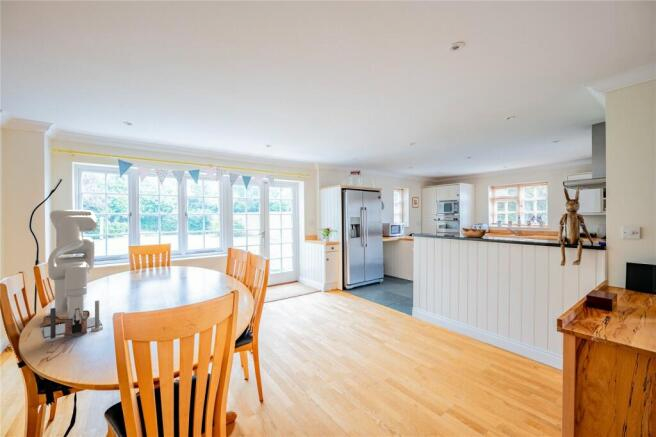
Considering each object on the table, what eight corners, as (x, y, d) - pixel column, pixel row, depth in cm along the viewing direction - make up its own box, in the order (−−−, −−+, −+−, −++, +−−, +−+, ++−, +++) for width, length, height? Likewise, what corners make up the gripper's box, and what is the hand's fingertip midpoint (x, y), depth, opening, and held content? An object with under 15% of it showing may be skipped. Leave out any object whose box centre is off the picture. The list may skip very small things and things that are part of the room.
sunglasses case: (38, 328, 131) (40, 314, 134) (41, 331, 136) (43, 317, 139) (87, 320, 142) (88, 307, 145) (89, 323, 147) (90, 311, 150)
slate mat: (43, 329, 131) (43, 327, 131) (97, 317, 146) (97, 316, 146) (44, 338, 121) (44, 336, 121) (102, 325, 136) (102, 323, 136)
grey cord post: (90, 329, 131) (90, 300, 130) (102, 326, 134) (102, 298, 134) (91, 332, 128) (91, 303, 128) (103, 329, 131) (103, 300, 131)
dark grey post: (45, 340, 120) (45, 308, 119) (59, 336, 123) (59, 306, 123) (46, 343, 117) (46, 311, 117) (60, 339, 120) (60, 308, 120)
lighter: (62, 337, 122) (62, 315, 122) (66, 334, 125) (66, 313, 125) (85, 334, 125) (85, 313, 125) (88, 331, 129) (88, 310, 128)
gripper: (63, 289, 128) (63, 328, 128) (66, 297, 117) (66, 339, 117) (84, 286, 134) (84, 323, 134) (89, 293, 122) (89, 333, 122)
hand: (76, 330), depth 125 cm, fingers closed on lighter, 4 cm apart
